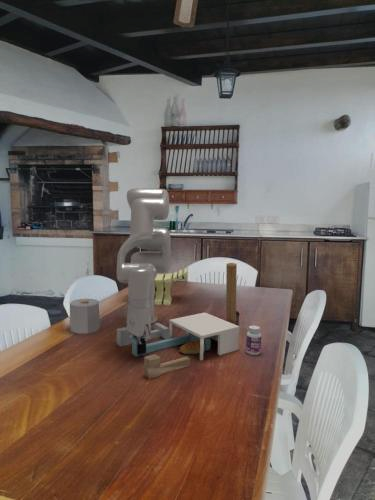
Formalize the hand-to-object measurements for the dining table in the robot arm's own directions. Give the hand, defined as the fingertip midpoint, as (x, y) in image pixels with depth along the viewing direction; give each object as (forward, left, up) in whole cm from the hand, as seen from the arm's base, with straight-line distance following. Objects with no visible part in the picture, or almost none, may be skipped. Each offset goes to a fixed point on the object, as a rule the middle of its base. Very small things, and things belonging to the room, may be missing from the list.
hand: (139, 351), depth 136 cm
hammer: (-1, +46, -1) cm, 46 cm away
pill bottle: (+22, +36, -1) cm, 42 cm away
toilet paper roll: (-35, -6, -1) cm, 36 cm away
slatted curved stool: (-56, +44, -1) cm, 71 cm away
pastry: (+9, +18, -1) cm, 20 cm away
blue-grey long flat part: (+5, +11, -1) cm, 12 cm away
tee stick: (-11, +8, -1) cm, 14 cm away
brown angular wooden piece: (+17, +2, -1) cm, 17 cm away
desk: (+7, +23, -1) cm, 24 cm away
